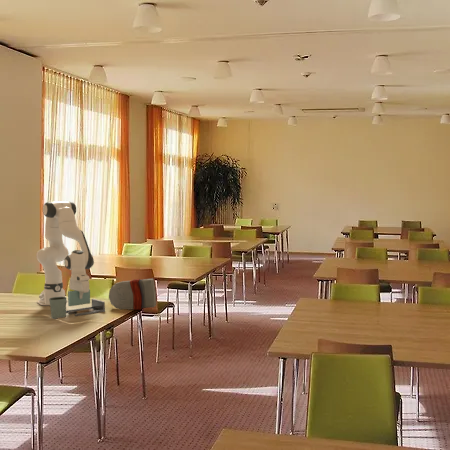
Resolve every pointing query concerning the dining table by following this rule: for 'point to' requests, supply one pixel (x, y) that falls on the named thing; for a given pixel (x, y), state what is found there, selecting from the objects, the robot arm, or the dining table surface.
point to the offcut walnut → (84, 311)
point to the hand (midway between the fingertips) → (79, 298)
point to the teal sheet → (75, 300)
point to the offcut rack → (96, 305)
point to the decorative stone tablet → (133, 294)
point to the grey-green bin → (58, 307)
